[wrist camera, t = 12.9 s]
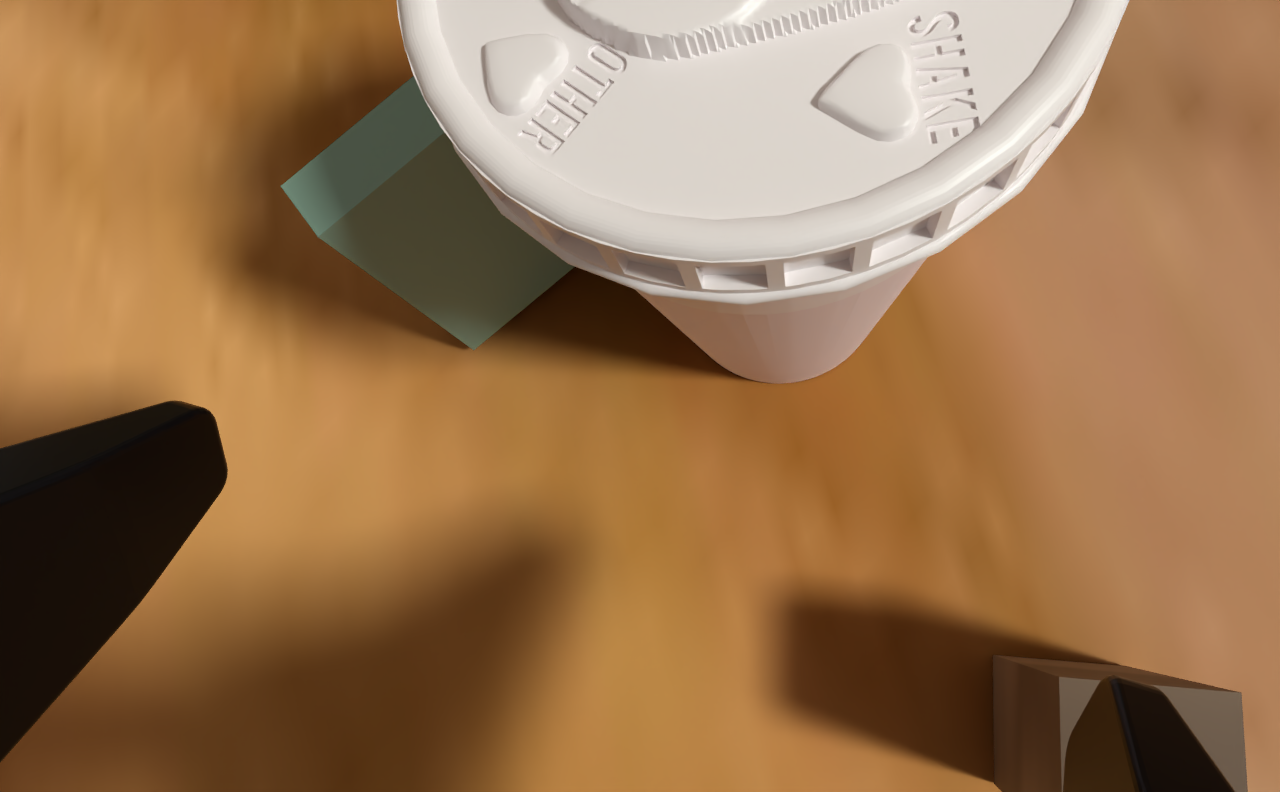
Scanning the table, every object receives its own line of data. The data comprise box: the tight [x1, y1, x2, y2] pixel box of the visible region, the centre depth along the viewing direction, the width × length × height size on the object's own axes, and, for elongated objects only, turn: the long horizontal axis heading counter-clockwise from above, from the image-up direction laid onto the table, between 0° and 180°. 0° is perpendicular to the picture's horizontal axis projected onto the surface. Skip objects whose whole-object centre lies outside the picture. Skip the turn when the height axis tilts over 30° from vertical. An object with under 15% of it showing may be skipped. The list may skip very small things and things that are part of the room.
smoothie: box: [397, 0, 1129, 383], centre depth 10 cm, size 6×6×14 cm
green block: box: [281, 76, 575, 350], centre depth 15 cm, size 13×2×6 cm, turn 128°
